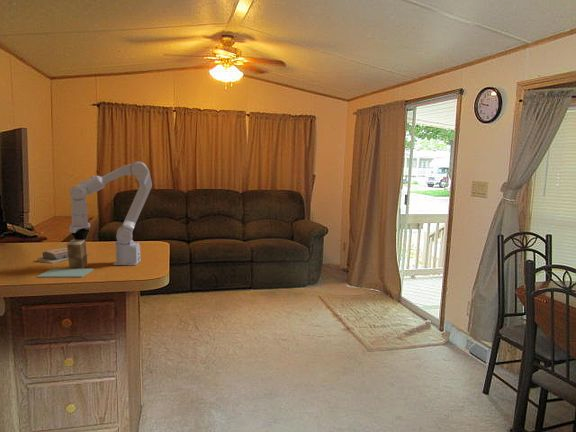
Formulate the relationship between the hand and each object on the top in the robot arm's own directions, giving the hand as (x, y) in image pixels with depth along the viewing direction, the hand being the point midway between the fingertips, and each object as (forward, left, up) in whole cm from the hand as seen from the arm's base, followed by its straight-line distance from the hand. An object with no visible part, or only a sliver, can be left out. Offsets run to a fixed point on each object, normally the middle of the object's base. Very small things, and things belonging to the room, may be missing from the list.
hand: (81, 247), depth 167 cm
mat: (+1, +11, -8) cm, 14 cm away
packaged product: (+14, -15, -9) cm, 22 cm away
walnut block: (0, +3, -8) cm, 8 cm away
